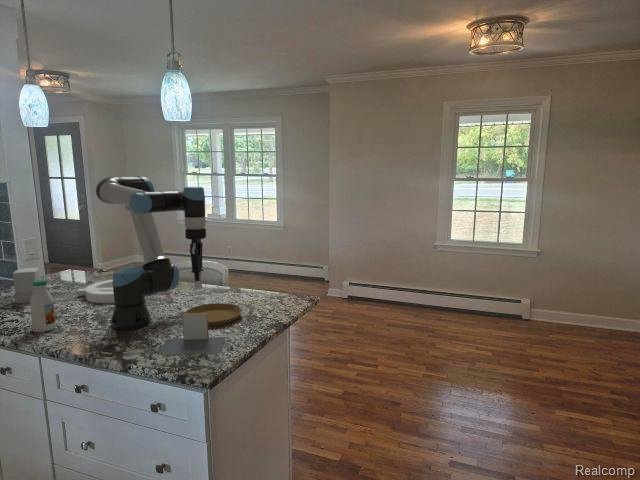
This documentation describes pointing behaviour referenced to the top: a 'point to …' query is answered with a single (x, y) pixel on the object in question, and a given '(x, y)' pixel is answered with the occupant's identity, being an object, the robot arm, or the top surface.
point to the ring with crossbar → (99, 292)
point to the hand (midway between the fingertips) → (198, 288)
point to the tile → (195, 326)
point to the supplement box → (25, 283)
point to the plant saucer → (217, 313)
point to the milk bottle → (42, 307)
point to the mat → (192, 346)
